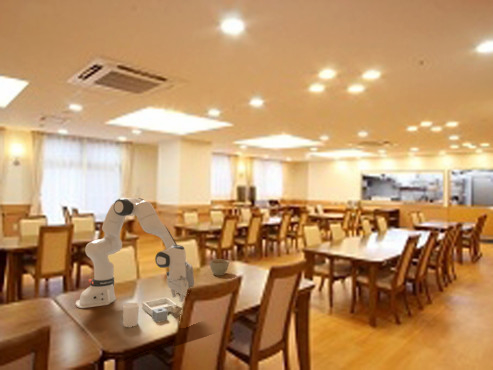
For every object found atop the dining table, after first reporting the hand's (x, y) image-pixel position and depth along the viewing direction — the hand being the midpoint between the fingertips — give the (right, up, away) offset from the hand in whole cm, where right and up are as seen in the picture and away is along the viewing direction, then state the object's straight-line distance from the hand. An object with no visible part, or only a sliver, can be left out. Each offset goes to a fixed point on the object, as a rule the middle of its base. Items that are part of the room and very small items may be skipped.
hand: (177, 299), depth 179 cm
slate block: (-8, -9, -6) cm, 14 cm away
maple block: (-1, -9, 0) cm, 9 cm away
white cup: (-22, -8, -14) cm, 27 cm away
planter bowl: (+16, -11, +88) cm, 90 cm away
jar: (-7, -10, +46) cm, 47 cm away
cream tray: (-12, -9, +8) cm, 17 cm away
